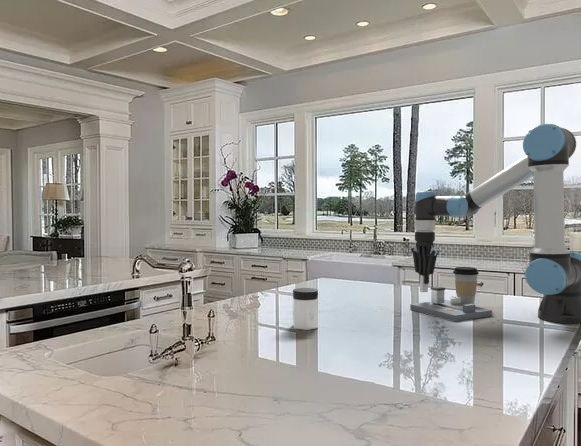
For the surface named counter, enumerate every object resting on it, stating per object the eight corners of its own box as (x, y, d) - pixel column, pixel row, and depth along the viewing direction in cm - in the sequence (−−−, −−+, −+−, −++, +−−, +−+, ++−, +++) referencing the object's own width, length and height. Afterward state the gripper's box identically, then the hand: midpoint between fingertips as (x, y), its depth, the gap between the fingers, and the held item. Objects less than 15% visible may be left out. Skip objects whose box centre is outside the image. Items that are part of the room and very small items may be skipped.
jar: (301, 331, 153) (301, 293, 152) (287, 326, 160) (286, 289, 159) (324, 327, 158) (324, 290, 157) (309, 322, 165) (309, 286, 164)
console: (491, 315, 173) (492, 302, 173) (455, 321, 165) (455, 307, 165) (445, 304, 193) (445, 293, 193) (410, 309, 184) (410, 297, 184)
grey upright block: (445, 303, 183) (445, 287, 183) (437, 304, 182) (437, 288, 181) (438, 301, 186) (438, 285, 186) (430, 302, 185) (430, 286, 184)
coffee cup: (482, 309, 184) (482, 269, 183) (457, 309, 184) (457, 269, 184) (473, 304, 193) (473, 266, 193) (449, 304, 193) (449, 266, 193)
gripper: (444, 231, 185) (443, 293, 186) (420, 230, 197) (419, 288, 198) (429, 232, 182) (428, 295, 183) (405, 230, 193) (405, 289, 194)
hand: (423, 291), depth 190 cm, fingers closed
